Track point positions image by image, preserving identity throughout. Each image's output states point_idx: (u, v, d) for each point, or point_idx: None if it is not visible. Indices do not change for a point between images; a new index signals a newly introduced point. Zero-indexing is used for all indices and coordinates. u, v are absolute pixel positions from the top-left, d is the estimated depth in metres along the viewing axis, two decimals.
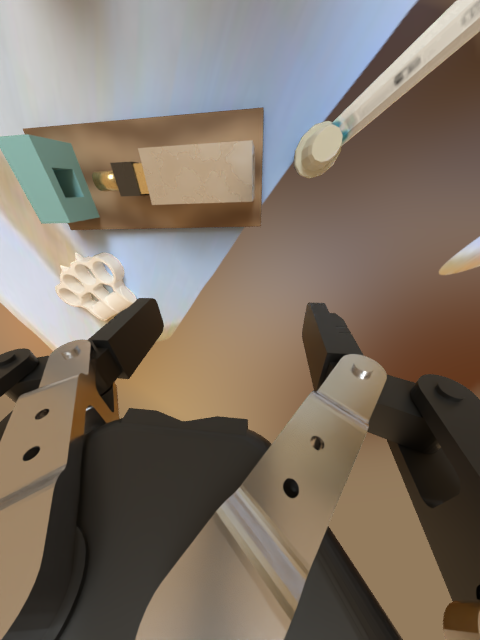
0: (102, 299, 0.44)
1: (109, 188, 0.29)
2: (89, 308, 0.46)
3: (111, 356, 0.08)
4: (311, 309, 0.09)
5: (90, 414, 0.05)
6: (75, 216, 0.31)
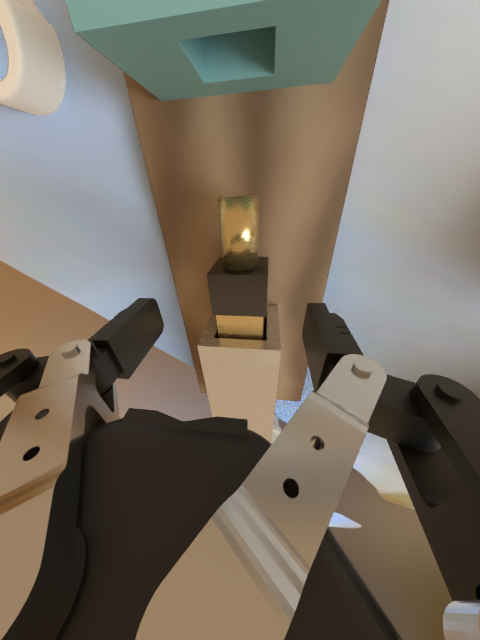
0: None
1: (222, 233, 0.12)
2: None
3: (111, 356, 0.08)
4: (311, 309, 0.09)
5: (90, 414, 0.05)
6: (120, 53, 0.08)
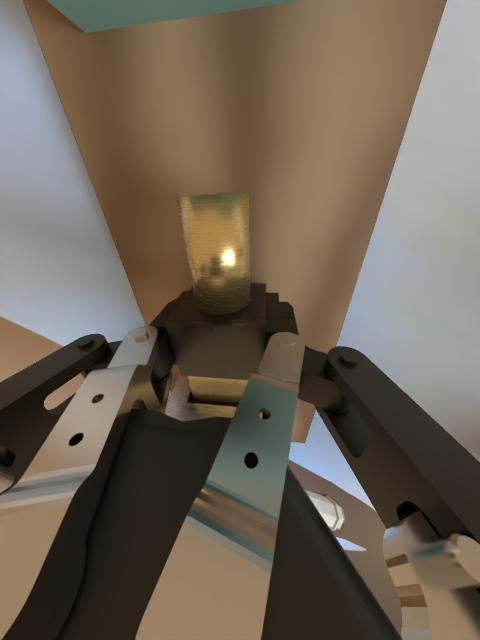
0: None
1: (188, 257, 0.07)
2: None
3: None
4: None
5: (139, 405, 0.06)
6: None
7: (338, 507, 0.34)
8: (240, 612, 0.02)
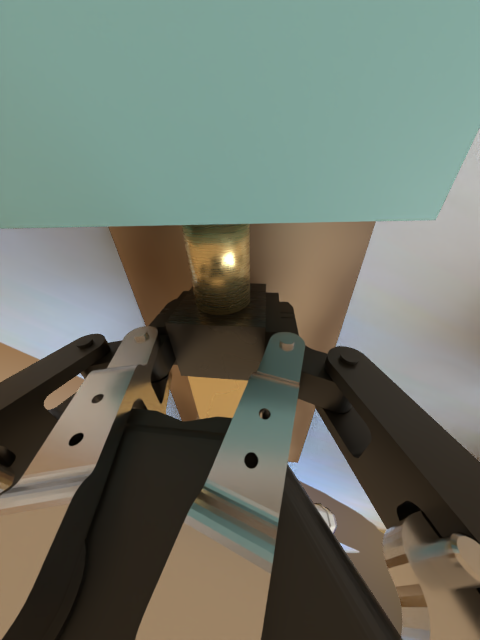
0: None
1: (189, 257, 0.07)
2: None
3: None
4: None
5: (139, 405, 0.06)
6: None
7: (330, 515, 0.37)
8: (240, 612, 0.02)
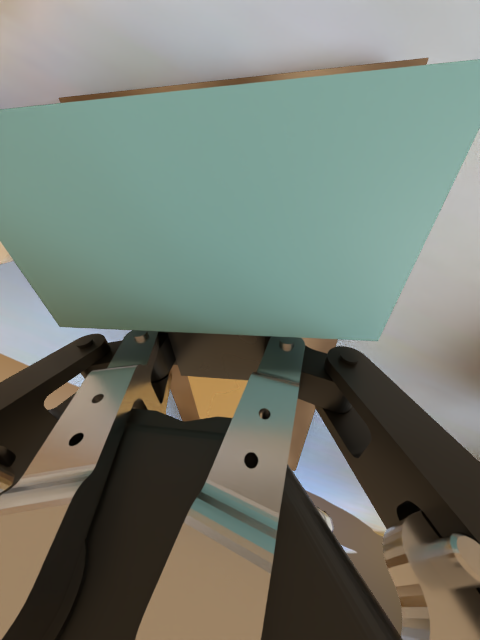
0: None
1: None
2: None
3: None
4: None
5: (139, 405, 0.06)
6: None
7: (328, 518, 0.39)
8: (240, 612, 0.02)
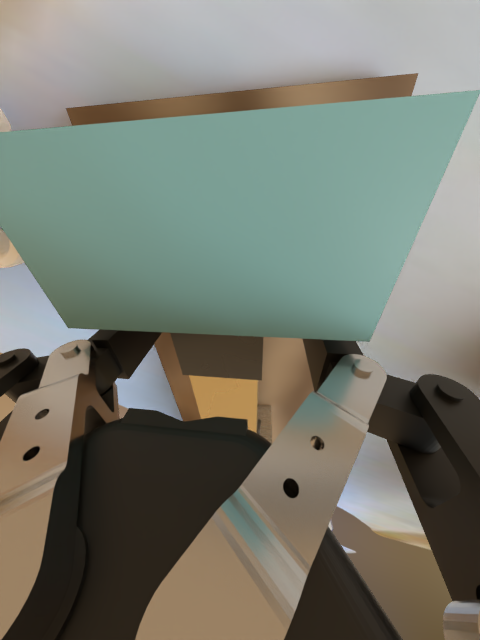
0: None
1: None
2: None
3: (111, 356, 0.08)
4: None
5: (90, 414, 0.05)
6: None
7: None
8: None
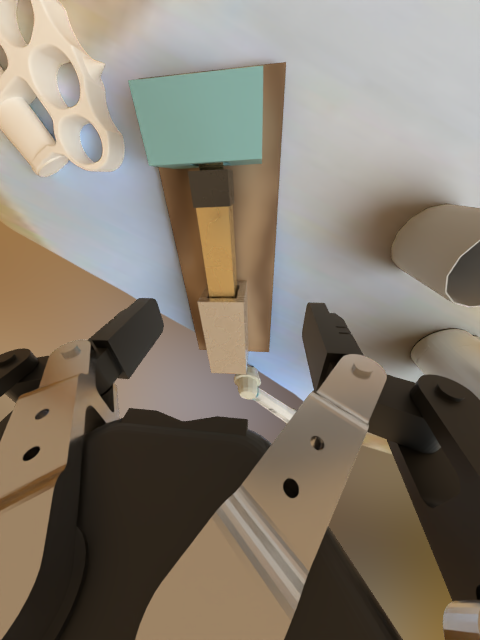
0: (5, 92, 0.19)
1: None
2: None
3: (111, 356, 0.08)
4: (311, 309, 0.09)
5: (90, 414, 0.05)
6: (163, 166, 0.19)
7: None
8: None
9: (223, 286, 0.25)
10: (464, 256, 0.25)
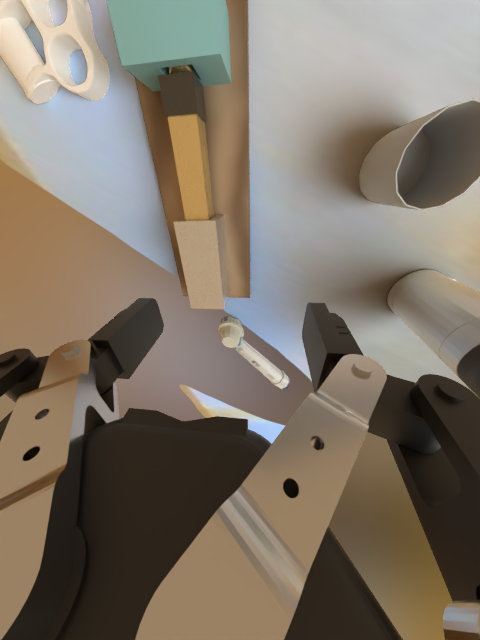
0: (1, 10, 0.22)
1: None
2: None
3: (111, 356, 0.08)
4: (311, 309, 0.09)
5: (90, 414, 0.05)
6: (136, 72, 0.21)
7: (285, 375, 0.52)
8: None
9: (197, 206, 0.27)
10: (426, 179, 0.26)
